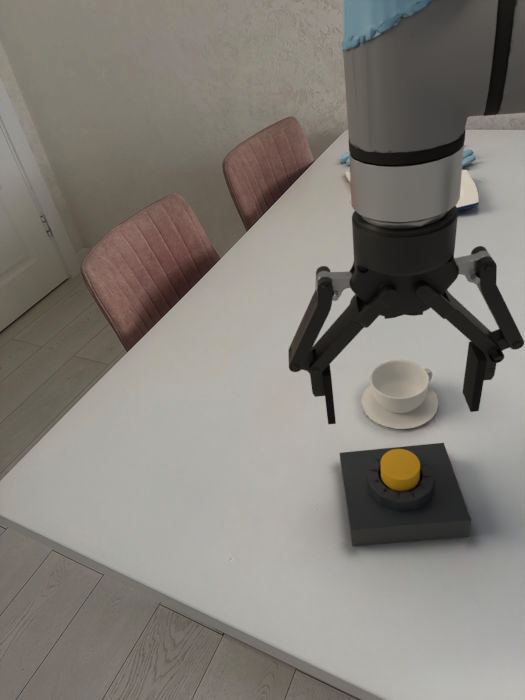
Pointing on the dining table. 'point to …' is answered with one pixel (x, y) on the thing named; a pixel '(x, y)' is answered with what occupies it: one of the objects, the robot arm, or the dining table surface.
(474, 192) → the plate
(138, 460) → the dining table surface
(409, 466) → the yellow button cap
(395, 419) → the teacup
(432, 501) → the yellow button cap base
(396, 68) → the robot arm
